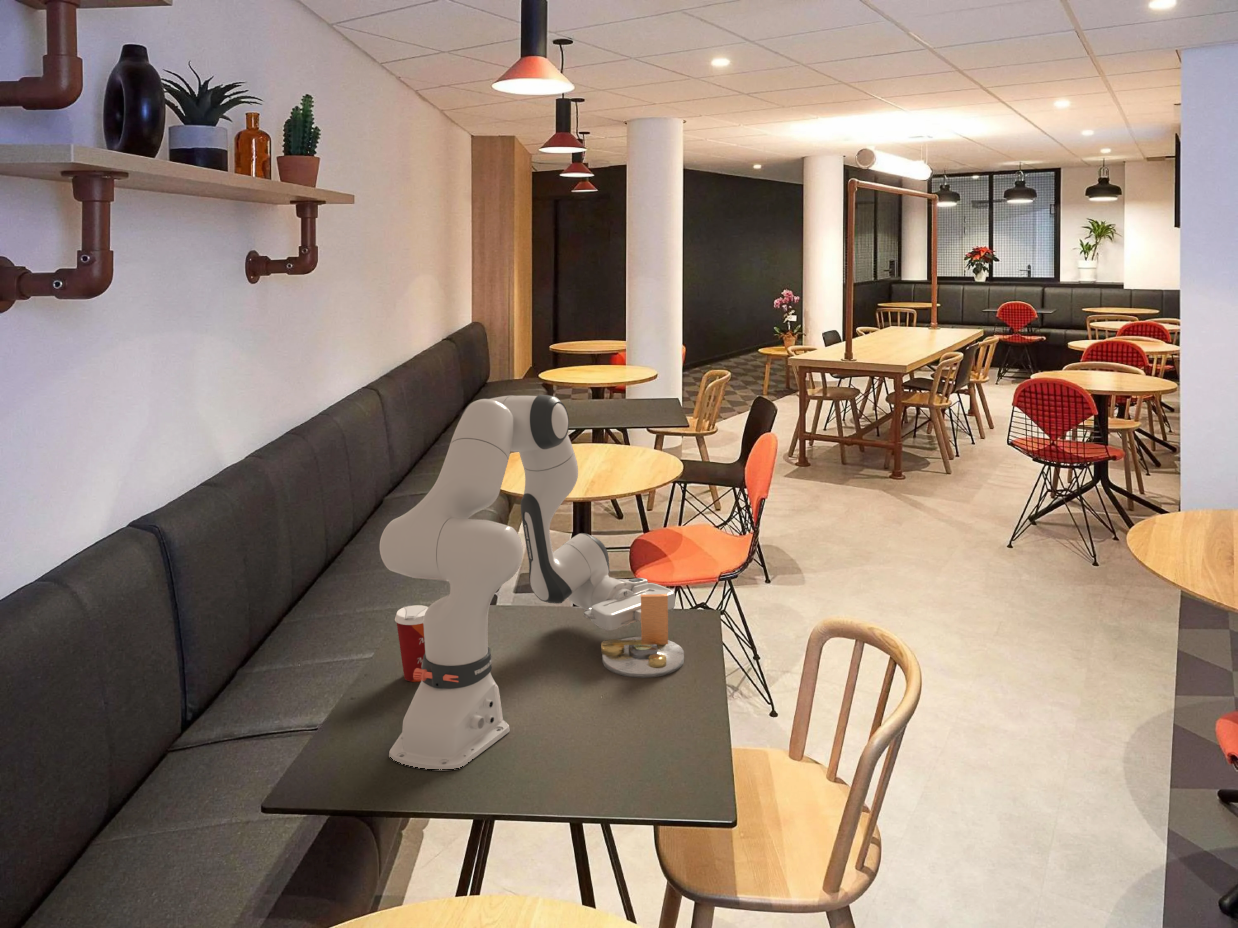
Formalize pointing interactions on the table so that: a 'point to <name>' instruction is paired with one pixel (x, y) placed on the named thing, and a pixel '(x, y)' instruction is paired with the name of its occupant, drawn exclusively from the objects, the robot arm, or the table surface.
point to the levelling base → (646, 660)
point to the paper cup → (411, 638)
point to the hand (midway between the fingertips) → (659, 617)
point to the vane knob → (645, 625)
